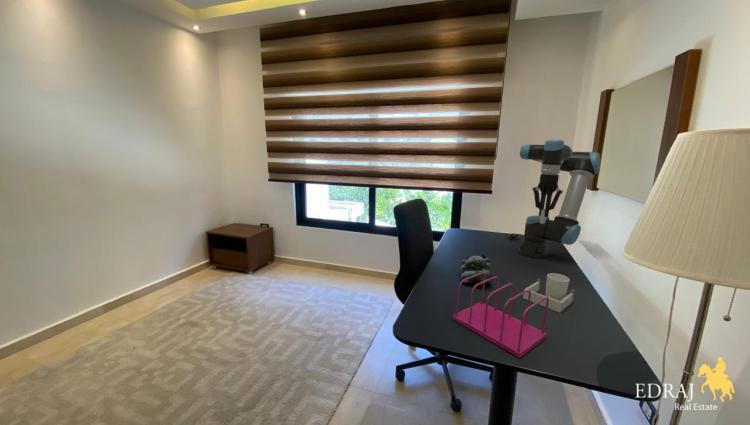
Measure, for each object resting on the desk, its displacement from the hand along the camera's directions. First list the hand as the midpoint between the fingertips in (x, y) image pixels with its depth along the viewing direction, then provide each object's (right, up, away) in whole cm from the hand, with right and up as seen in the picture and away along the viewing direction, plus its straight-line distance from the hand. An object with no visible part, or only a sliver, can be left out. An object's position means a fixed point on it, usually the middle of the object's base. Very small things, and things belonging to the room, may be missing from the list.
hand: (542, 223), depth 143 cm
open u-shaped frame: (-9, -31, -20) cm, 38 cm away
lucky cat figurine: (-34, -27, -4) cm, 44 cm away
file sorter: (-38, -35, -40) cm, 66 cm away
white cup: (-6, -31, -19) cm, 37 cm away
